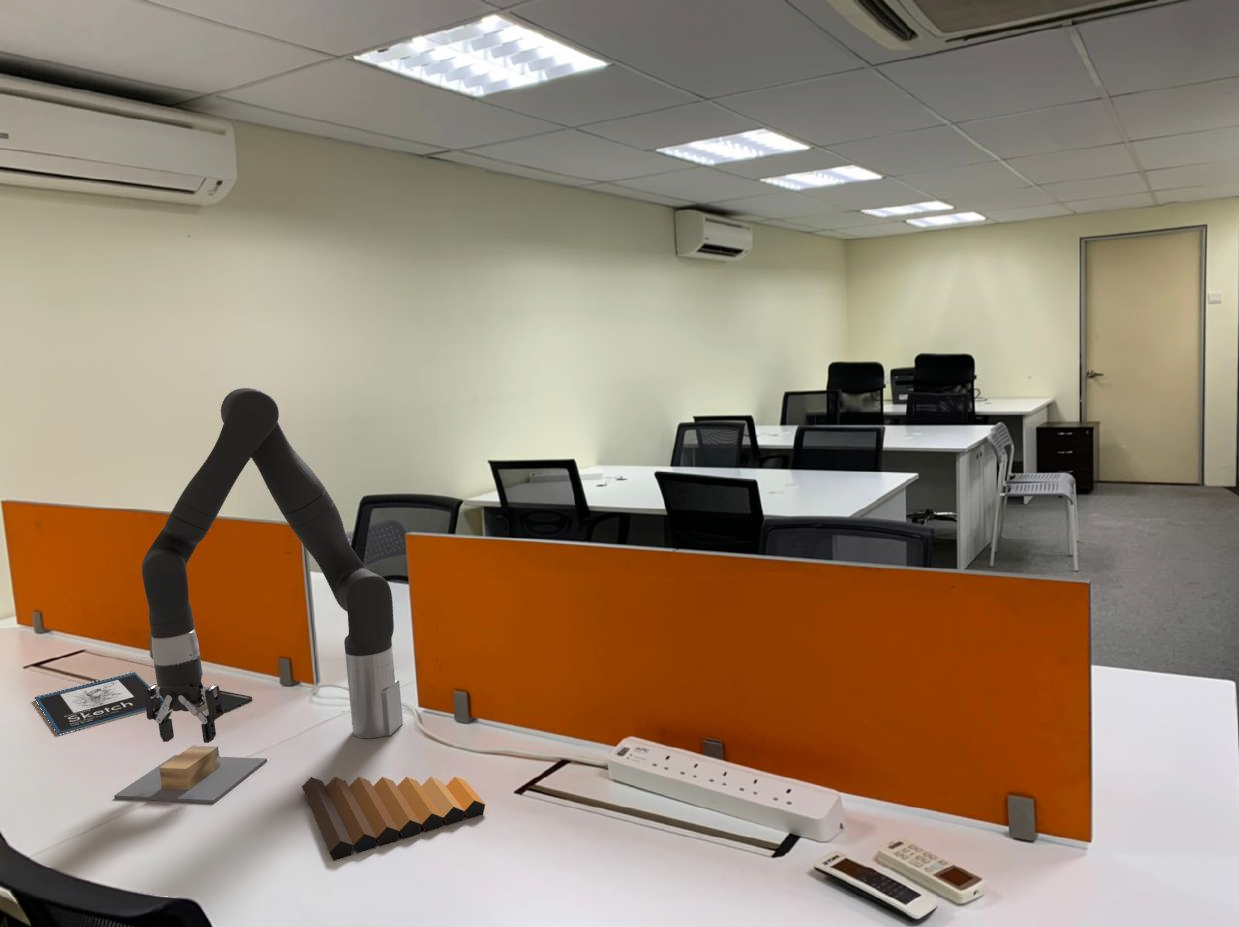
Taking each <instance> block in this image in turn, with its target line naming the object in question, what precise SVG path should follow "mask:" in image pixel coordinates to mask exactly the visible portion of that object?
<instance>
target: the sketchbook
mask: <svg viewBox="0 0 1239 927" xmlns="http://www.w3.org/2000/svg"><path fill="white" fill-rule="evenodd" d="M95 680H96V681H94V680H92V681H91V683H90V681H87V682H88V683H86V682H84V684H82V683H80V685H78V684H76V686H74V685H72V687H70V686H68V687H67V689H66V687H64V688H63V689H62V688H60V689H59V690H58V689H55V691H54V690H51V693H49V691H47V693H45V692H43V694H42V695H41V694H40V693H39V694H37V696H35V697H34V700H35V699H36V701H37V702H38V704H39V706H40V708H41V709H42V711H43V712H44V714H45V716H46V717H47V719H48V720H49V722H50V723H49V722H48V723H49V725H50V724H51V725H52V726H53V728H54V729H55V731H56V732H55V731H54V732H55V734H56V733H57V734H58V735H60V734H63V733H67V732H71V731H74V730H78V731H80V730H79V729H82V730H84V729H83V728H86V729H88V728H87V727H89V728H92V727H91V726H93V727H96V726H99V725H104V724H106V722H107V723H110V722H114V721H118V720H121V719H124V717H125V718H127V717H131V716H134V715H139V714H142V713H146V703H145V693H144V691H145V689H147V688H149V687H151V686H150V685H149V684H148V683H147V682H146V681H145V680H144V679H142V677H141V676H140V675H139V674H137V673H136V671H135V672H134V671H133V672H132V671H129V672H128V671H127V673H125V672H123V674H121V673H119V675H118V674H115V676H113V675H111V677H110V676H108V677H107V678H106V677H103V679H102V678H100V680H98V679H95ZM160 700H161V706H162V705H163V703H164V700H163V699H162V697H161V696H160ZM39 706H38V707H39ZM40 708H39V709H40ZM153 708H154V707H153ZM41 709H40V710H41ZM42 711H41V712H42ZM44 714H43V715H44ZM45 716H44V717H45ZM46 717H45V718H46ZM47 719H46V720H47ZM117 719H118V720H117ZM48 720H47V721H48ZM51 725H50V726H51ZM52 726H51V727H52ZM53 728H52V729H53ZM54 729H53V730H54ZM71 733H72V732H71ZM57 734H56V735H57ZM58 735H57V736H58ZM60 736H61V735H60Z"/></svg>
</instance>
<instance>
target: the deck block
mask: <svg viewBox="0 0 1239 927" xmlns="http://www.w3.org/2000/svg"><path fill="white" fill-rule="evenodd" d="M177 755H178V756H176V757H175V758H173V759H172V760H170V761H169V762H167V763H166V764H164V765H163V766H161V767H160V768H159V769H160V777H161V785H162V789H176V790H190V789H191V788H192V787H194V786H195V785H197V784H198V783H199V782H201V781H202V780H203V779H205V778H206V777H207V776H209V775H210V774H211V773H213V772H214V771H215V770H217V769H218V768H220V758H219V757H220V752H219V746H217V745H216V746H214V745H213V746H211V745H191V746H190V747H188V748H186V749H185V750H184V751H182V752H181V753H179V754H177Z"/></svg>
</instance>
